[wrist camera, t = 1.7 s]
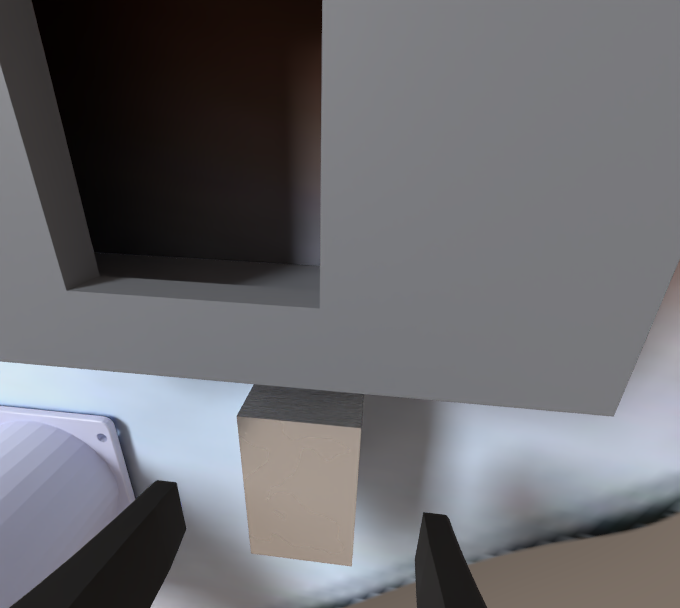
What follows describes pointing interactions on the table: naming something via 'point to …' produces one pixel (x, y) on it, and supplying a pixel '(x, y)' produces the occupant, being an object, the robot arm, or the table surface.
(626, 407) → the table surface
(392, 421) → the table surface
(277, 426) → the cream block
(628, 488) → the table surface
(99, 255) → the grey tissue box
